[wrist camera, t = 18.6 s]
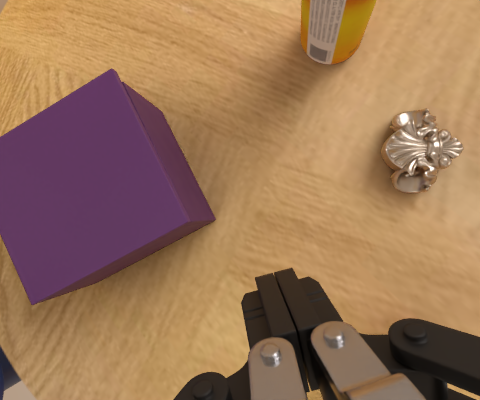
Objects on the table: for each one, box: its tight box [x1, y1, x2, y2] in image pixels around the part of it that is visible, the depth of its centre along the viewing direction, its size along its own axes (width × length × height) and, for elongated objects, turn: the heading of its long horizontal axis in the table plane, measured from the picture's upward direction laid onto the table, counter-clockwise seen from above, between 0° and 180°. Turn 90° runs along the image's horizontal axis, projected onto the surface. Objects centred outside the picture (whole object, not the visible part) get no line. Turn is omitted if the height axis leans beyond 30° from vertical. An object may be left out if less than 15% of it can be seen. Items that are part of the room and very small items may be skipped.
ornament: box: [381, 108, 463, 193], centre depth 32 cm, size 8×7×4 cm
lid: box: [0, 69, 191, 305], centre depth 29 cm, size 14×16×1 cm
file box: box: [41, 82, 216, 302], centre depth 34 cm, size 14×16×9 cm
